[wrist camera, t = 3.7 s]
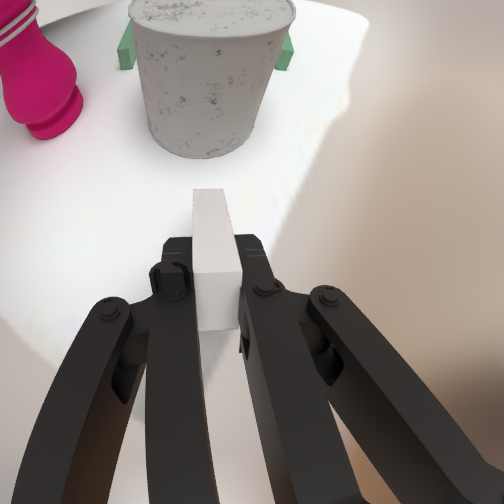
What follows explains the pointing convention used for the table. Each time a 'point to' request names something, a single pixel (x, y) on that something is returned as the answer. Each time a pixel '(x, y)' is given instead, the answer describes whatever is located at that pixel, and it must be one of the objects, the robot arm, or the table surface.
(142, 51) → the concrete cylinder
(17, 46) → the pepper mill
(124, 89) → the table surface
